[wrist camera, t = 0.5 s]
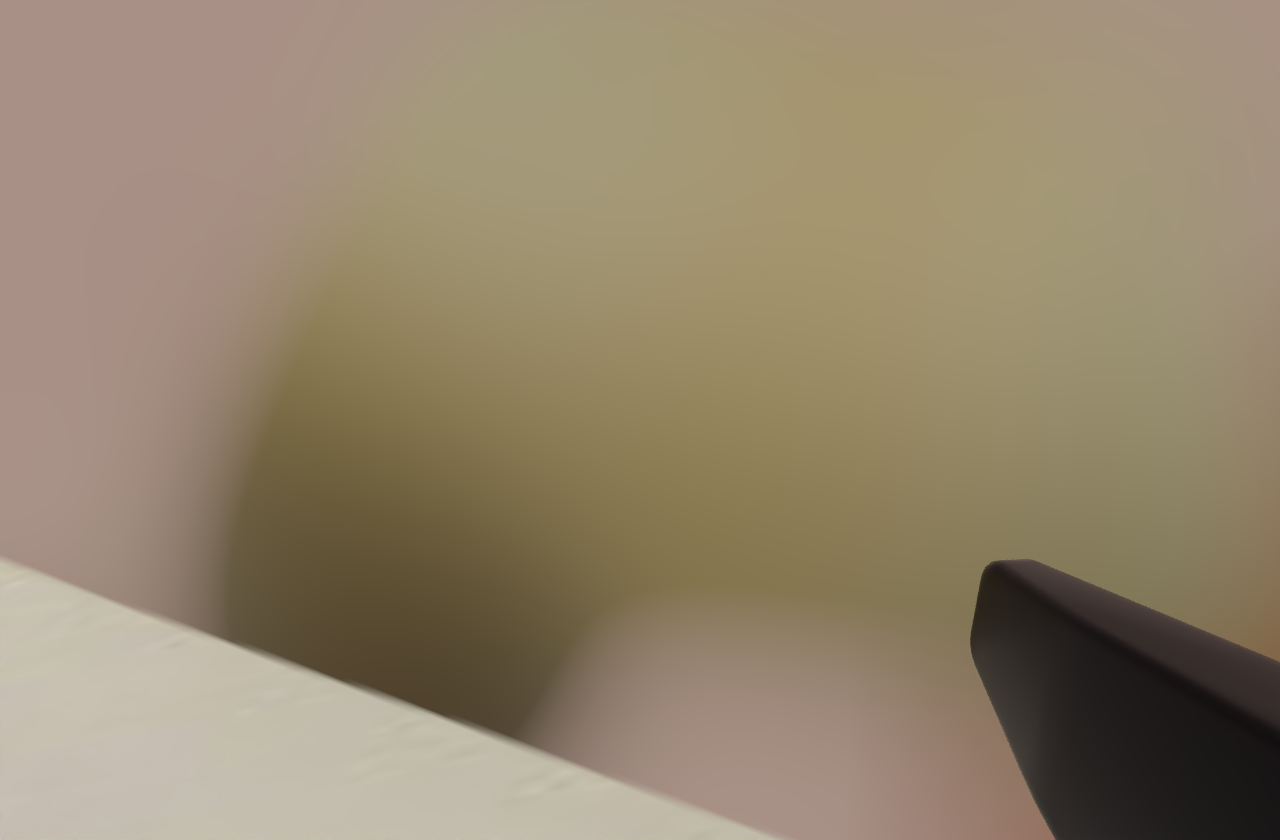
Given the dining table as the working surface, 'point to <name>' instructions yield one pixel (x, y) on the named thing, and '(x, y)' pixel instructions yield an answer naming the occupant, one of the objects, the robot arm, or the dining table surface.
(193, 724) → the dining table surface
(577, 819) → the dining table surface
